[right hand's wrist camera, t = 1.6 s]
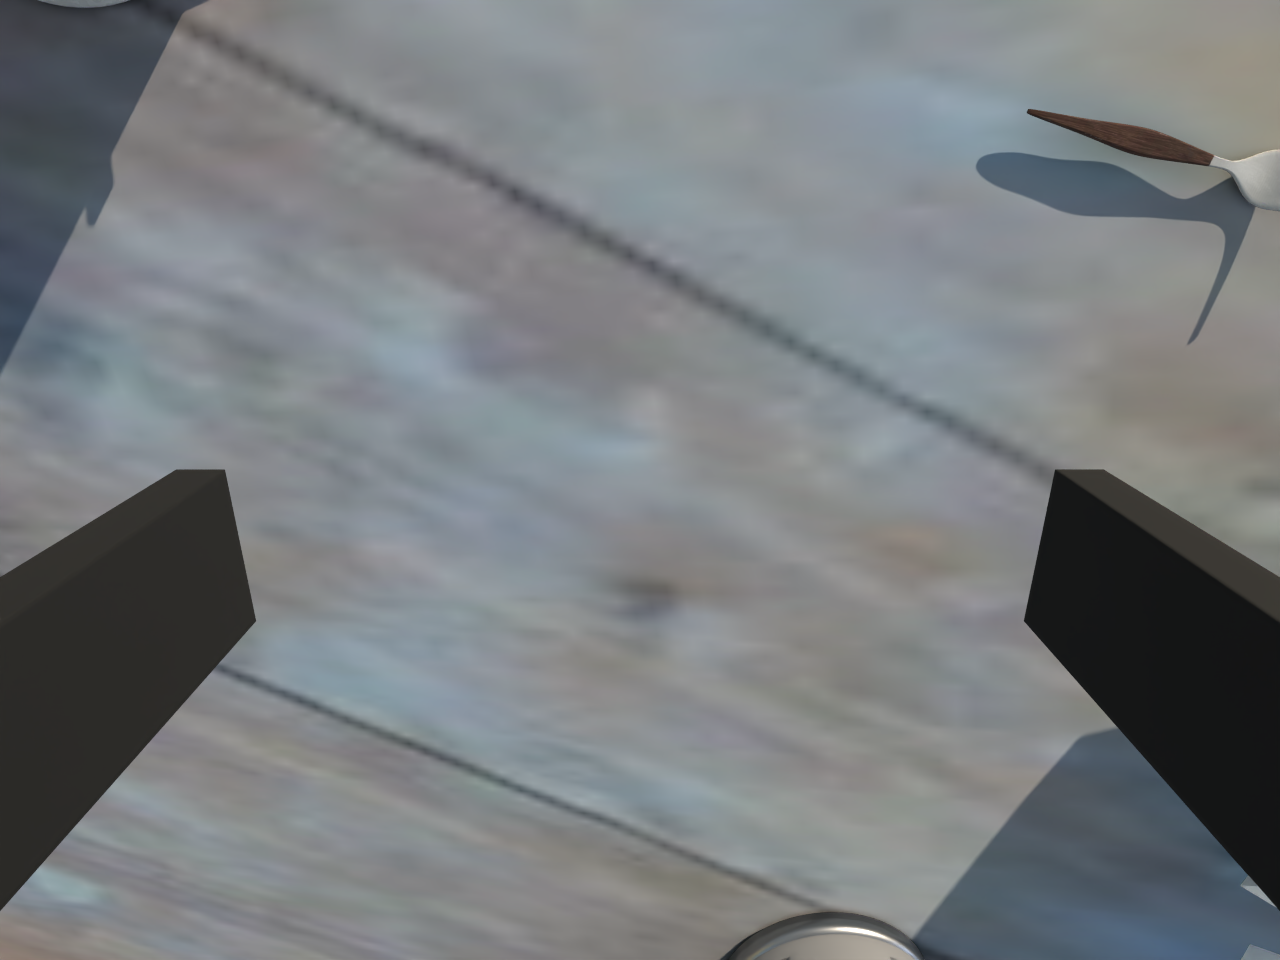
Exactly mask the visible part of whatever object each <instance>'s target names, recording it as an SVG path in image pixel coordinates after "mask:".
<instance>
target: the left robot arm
mask: <svg viewBox="0 0 1280 960" xmlns="http://www.w3.org/2000/svg"><path fill="white" fill-rule="evenodd" d="M38 1H42V2H46V3H50V4H54V5H60V6H66V7H76V8H93V7H104V6H110V5H115V4H119V3H123V2H126V1H129V0H38Z"/></svg>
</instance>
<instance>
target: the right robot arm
mask: <svg viewBox="0 0 1280 960" xmlns="http://www.w3.org/2000/svg"><path fill="white" fill-rule="evenodd" d="M255 622H256V618H255V614H254V609H253V604H252V599H251V594H250V589H249V584H248V580H247V575H246V570H245V565H244V560H243V555H242V551H241V546H240V541H239V536H238V531H237V526H236V521H235V517H234V512H233V507H232V502H231V497H230V492H229V488H228V483H227V478H226V473H225V470H175V471H173V472H172V473H170V474H168V475H167V476H165V477H163V478H162V479H160V480H159V481H157V482H155V483H154V484H152V485H150V486H149V487H147V488H146V489H144V490H142V491H141V492H139V493H137V494H136V495H134V496H132V497H131V498H129V499H128V500H126V501H124V502H123V503H121V504H119V505H118V506H116V507H114V508H113V509H111V510H110V511H108V512H106V513H105V514H103V515H101V516H100V517H98V518H96V519H95V520H93V521H92V522H90V523H88V524H87V525H85V526H83V527H82V528H80V529H78V530H77V531H75V532H74V533H72V534H70V535H69V536H67V537H65V538H64V539H62V540H61V541H59V542H57V543H56V544H54V545H52V546H51V547H49V548H47V549H46V550H44V551H43V552H41V553H39V554H38V555H36V556H34V557H33V558H31V559H29V560H28V561H26V562H25V563H23V564H21V565H20V566H18V567H16V568H15V569H13V570H11V571H10V572H8V573H7V574H5V575H3V576H2V577H0V911H1V909H2V908H3V907H4V906H5V905H6V904H7V903H8V902H9V900H10V899H11V898H12V897H13V896H14V895H15V894H16V892H17V891H18V890H19V889H20V888H21V887H22V886H23V885H24V883H25V882H26V881H27V880H28V879H29V878H30V877H31V875H32V874H33V873H34V872H35V871H36V870H37V869H38V868H39V866H40V865H41V864H42V863H43V862H44V861H45V860H46V858H47V857H48V856H49V855H50V854H51V853H52V852H53V851H54V849H55V848H56V847H57V846H58V845H59V844H60V843H61V841H62V840H63V839H64V838H65V837H66V836H67V835H68V834H69V832H70V831H71V830H72V829H73V828H74V827H75V826H76V824H77V823H78V822H79V821H80V820H81V819H82V818H83V817H84V815H85V814H86V813H87V812H88V811H89V810H90V809H91V807H92V806H93V805H94V804H95V803H96V802H97V801H98V800H99V798H100V797H101V796H102V795H103V794H104V793H105V792H106V790H107V789H108V788H109V787H110V786H111V785H112V784H113V783H114V781H115V780H116V779H117V778H118V777H119V776H120V775H121V773H122V772H123V771H124V770H125V769H126V768H127V767H128V766H129V764H130V763H131V762H132V761H133V760H134V759H135V758H136V756H137V755H138V754H139V753H140V752H141V751H142V750H143V749H144V747H145V746H146V745H147V744H148V743H149V742H150V741H151V739H152V738H153V737H154V736H155V735H156V734H157V733H158V732H159V730H160V729H161V728H162V727H163V726H164V725H165V724H166V722H167V721H168V720H169V719H170V718H171V717H172V716H173V715H174V713H175V712H176V711H177V710H178V709H179V708H180V707H181V706H182V704H183V703H184V702H185V701H186V700H187V699H188V698H189V696H190V695H191V694H192V693H193V692H194V691H195V690H196V689H197V687H198V686H199V685H200V684H201V683H202V682H203V681H204V679H205V678H206V677H207V676H208V675H209V674H210V673H211V672H212V670H213V669H214V668H215V667H216V666H217V665H218V664H219V662H220V661H221V660H222V659H223V658H224V657H225V656H226V655H227V653H228V652H229V651H230V650H231V649H232V648H233V647H234V645H235V644H236V643H237V642H238V641H239V640H240V639H241V638H242V636H243V635H244V634H245V633H246V632H247V631H248V630H249V628H250V627H251V626H252V625H253V624H254V623H255ZM1024 622H1025V623H1026V624H1027V625H1028V626H1029V627H1030V628H1031V630H1032V631H1033V632H1034V633H1035V634H1036V635H1037V636H1038V638H1039V639H1040V640H1041V641H1042V642H1043V643H1044V644H1045V645H1046V647H1047V648H1048V649H1049V650H1050V651H1051V652H1052V653H1053V655H1054V656H1055V657H1056V658H1057V659H1058V660H1059V661H1060V662H1061V664H1062V665H1063V666H1064V667H1065V668H1066V669H1067V670H1068V672H1069V673H1070V674H1071V675H1072V676H1073V677H1074V678H1075V679H1076V681H1077V682H1078V683H1079V684H1080V685H1081V686H1082V687H1083V689H1084V690H1085V691H1086V692H1087V693H1088V694H1089V695H1090V696H1091V698H1092V699H1093V700H1094V701H1095V702H1096V703H1097V704H1098V706H1099V707H1100V708H1101V709H1102V710H1103V711H1104V712H1105V713H1106V715H1107V716H1108V717H1109V718H1110V719H1111V720H1112V721H1113V723H1114V724H1115V725H1116V726H1117V727H1118V728H1119V729H1120V730H1121V732H1122V733H1123V734H1124V735H1125V736H1126V737H1127V738H1128V739H1129V741H1130V742H1131V743H1132V744H1133V745H1134V746H1135V747H1136V749H1137V750H1138V751H1139V752H1140V753H1141V754H1142V755H1143V756H1144V758H1145V759H1146V760H1147V761H1148V762H1149V763H1150V764H1151V766H1152V767H1153V768H1154V769H1155V770H1156V771H1157V772H1158V773H1159V775H1160V776H1161V777H1162V778H1163V779H1164V780H1165V781H1166V783H1167V784H1168V785H1169V786H1170V787H1171V788H1172V789H1173V790H1174V792H1175V793H1176V794H1177V795H1178V796H1179V797H1180V798H1181V800H1182V801H1183V802H1184V803H1185V804H1186V805H1187V806H1188V807H1189V809H1190V810H1191V811H1192V812H1193V813H1194V814H1195V815H1196V817H1197V818H1198V819H1199V820H1200V821H1201V822H1202V823H1203V824H1204V826H1205V827H1206V828H1207V829H1208V830H1209V831H1210V832H1211V834H1212V835H1213V836H1214V837H1215V838H1216V839H1217V840H1218V841H1219V843H1220V844H1221V845H1222V846H1223V847H1224V848H1225V849H1226V851H1227V852H1228V853H1229V854H1230V855H1231V856H1232V857H1233V858H1234V860H1235V861H1236V862H1237V863H1238V864H1239V865H1240V866H1241V868H1242V869H1243V870H1244V871H1245V872H1246V873H1247V874H1248V875H1249V877H1250V878H1251V879H1252V880H1253V881H1254V882H1255V883H1256V885H1257V886H1258V887H1259V888H1260V889H1261V890H1262V891H1263V892H1264V894H1265V895H1266V896H1267V897H1268V898H1269V899H1270V900H1271V902H1272V903H1273V904H1274V905H1275V906H1276V907H1277V908H1278V909H1279V911H1280V577H1278V576H1277V575H1275V574H1273V573H1272V572H1270V571H1269V570H1267V569H1265V568H1264V567H1262V566H1260V565H1259V564H1257V563H1255V562H1254V561H1252V560H1251V559H1249V558H1247V557H1246V556H1244V555H1242V554H1241V553H1239V552H1237V551H1236V550H1234V549H1233V548H1231V547H1229V546H1228V545H1226V544H1224V543H1223V542H1221V541H1219V540H1218V539H1216V538H1215V537H1213V536H1211V535H1210V534H1208V533H1206V532H1205V531H1203V530H1202V529H1200V528H1198V527H1197V526H1195V525H1193V524H1192V523H1190V522H1188V521H1187V520H1185V519H1184V518H1182V517H1180V516H1179V515H1177V514H1175V513H1174V512H1172V511H1170V510H1169V509H1167V508H1166V507H1164V506H1162V505H1161V504H1159V503H1157V502H1156V501H1154V500H1152V499H1151V498H1149V497H1148V496H1146V495H1144V494H1143V493H1141V492H1139V491H1138V490H1136V489H1134V488H1133V487H1131V486H1130V485H1128V484H1126V483H1125V482H1123V481H1121V480H1120V479H1118V478H1117V477H1115V476H1113V475H1112V474H1110V473H1108V472H1107V471H1105V470H1055V473H1054V478H1053V483H1052V488H1051V492H1050V497H1049V502H1048V507H1047V512H1046V517H1045V521H1044V526H1043V531H1042V536H1041V541H1040V546H1039V551H1038V555H1037V560H1036V565H1035V570H1034V575H1033V580H1032V584H1031V589H1030V594H1029V599H1028V604H1027V609H1026V614H1025V618H1024ZM729 960H924V958H923V956H922V954H921V952H920V951H919V949H918V947H917V946H916V945H915V944H914V943H913V942H912V941H911V940H910V939H909V938H908V937H907V936H906V935H905V934H903V933H902V932H901V931H899V930H898V929H896V928H894V927H892V926H891V925H889V924H886V923H884V922H882V921H879V920H876V919H874V918H870V917H866V916H862V915H857V914H851V913H838V912H826V913H814V914H807V915H801V916H797V917H793V918H789V919H786V920H783V921H780V922H778V923H775V924H773V925H771V926H769V927H767V928H765V929H763V930H761V931H759V932H758V933H756V934H754V935H753V936H752V937H750V938H749V939H748V940H746V941H745V942H744V943H743V944H742V945H741V946H739V947H738V948H737V950H736V951H735V952H734V953H733V954H732V956H731V957H730V958H729Z"/></svg>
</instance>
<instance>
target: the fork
mask: <svg viewBox="0 0 1280 960" xmlns="http://www.w3.org/2000/svg"><path fill="white" fill-rule="evenodd" d="M1027 113H1028V114H1030V115H1032V116H1034V117H1037V118H1040V119H1042V120H1045V121H1047V122H1050V123H1053V124H1056V125H1058V126H1061V127H1064V128H1066V129H1069V130H1072V131H1074V132H1077V133H1079V134H1082V135H1084V136H1087V137H1089V138H1092V139H1094V140H1097V141H1099V142H1101V143H1104V144H1106V145H1109V146H1111V147H1113V148H1116V149H1119V150H1121V151H1124V152H1127V153H1130V154H1134V155H1138V156H1142V157H1147V158H1153V159H1160V160H1167V161H1174V162H1181V163H1189V164H1196V165H1203V166H1210V167H1216V168H1220V169H1223V170H1226V171H1227V172H1229V173H1230V174H1231V176H1232V177H1233V178H1234V180H1235V182H1236V184H1237V186H1238V188H1239V190H1240V192H1241V193H1242V195H1243V196H1244V198H1245V199H1246V200H1247V201H1248V202H1249V203H1251V204H1252V205H1254V206H1256V207H1259V208H1262V209H1267V210H1273V211H1280V150H1271V151H1266V152H1262V153H1259V154H1256V155H1254V156H1251V157H1248V158H1245V159H1242V160H1238V161H1229V160H1225V159H1222V158H1220V157H1217V156H1215V155H1212V154H1210V153H1208V152H1205V151H1203V150H1201V149H1199V148H1196V147H1194V146H1192V145H1189V144H1187V143H1185V142H1183V141H1180V140H1178V139H1176V138H1173V137H1171V136H1168V135H1166V134H1163V133H1160V132H1158V131H1154V130H1151V129H1147V128H1143V127H1138V126H1132V125H1126V124H1119V123H1112V122H1105V121H1098V120H1091V119H1085V118H1079V117H1073V116H1068V115H1062V114H1056V113H1051V112H1045V111H1039V110H1033V109H1028V111H1027Z"/></svg>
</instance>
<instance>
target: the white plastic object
mask: <svg viewBox="0 0 1280 960" xmlns="http://www.w3.org/2000/svg"><path fill="white" fill-rule="evenodd" d="M1240 886H1241V887H1243V888H1245V889H1246V890H1248V891H1250V892H1251V893H1253V894H1255V895H1256V896H1258V897H1260V898H1261V899H1263V900H1265V901H1266V902H1268V903H1270V904H1271V905H1273V906H1275V905H1274V904H1273V903H1272V902H1271V900H1270V899H1269V898H1268V897H1267V896H1266V895H1265V894H1264V892H1263V891H1262V890H1261V889H1260V888H1259V887H1258V886H1257V885H1256V883H1255V882H1254V881H1253V880H1252V879H1251V878H1250V877H1249V875H1248V876H1247V877H1246V879H1245V880H1244V881H1243V882H1242V884H1241V885H1240ZM1275 907H1276V906H1275ZM1276 908H1277V907H1276ZM1241 960H1280V955H1279V954H1277V953H1274V952H1271V951H1268V950H1265V949H1262V948H1260V947H1257V946H1254V945H1251V944H1250V945H1249V946H1248V948H1247V950H1246V952H1245V953H1244V955H1243V957H1242V959H1241Z"/></svg>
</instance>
